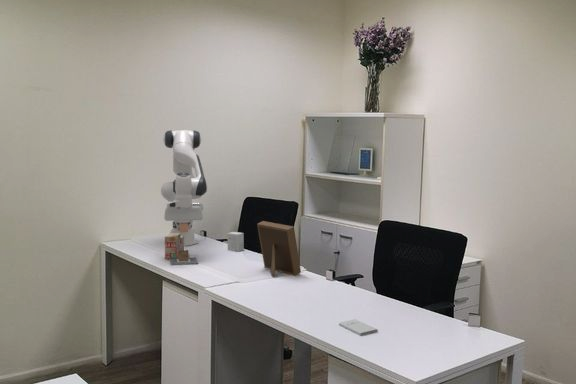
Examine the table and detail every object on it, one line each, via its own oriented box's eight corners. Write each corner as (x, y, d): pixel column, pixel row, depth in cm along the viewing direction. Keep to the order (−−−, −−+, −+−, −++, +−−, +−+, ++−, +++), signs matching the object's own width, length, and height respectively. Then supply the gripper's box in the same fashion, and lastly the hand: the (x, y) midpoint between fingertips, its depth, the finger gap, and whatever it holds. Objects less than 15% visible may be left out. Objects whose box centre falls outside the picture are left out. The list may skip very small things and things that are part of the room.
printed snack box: (173, 251, 326) (173, 230, 325) (184, 251, 326) (184, 230, 325) (164, 258, 305) (164, 236, 304) (176, 258, 304) (176, 236, 303)
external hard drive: (360, 337, 197) (338, 326, 207) (377, 333, 201) (355, 322, 212) (360, 333, 197) (338, 322, 207) (377, 328, 201) (355, 318, 211)
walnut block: (178, 259, 302) (178, 250, 302) (188, 259, 304) (188, 250, 303) (179, 261, 298) (179, 252, 297) (188, 261, 299) (188, 252, 298)
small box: (243, 250, 332) (244, 233, 331) (238, 252, 327) (238, 234, 326) (233, 248, 336) (233, 231, 335) (227, 250, 331) (227, 232, 330)
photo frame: (270, 266, 294) (270, 219, 291) (300, 274, 279) (301, 225, 276) (249, 271, 283) (249, 223, 280) (280, 279, 269) (281, 229, 266)
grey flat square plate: (169, 259, 306) (169, 257, 306) (195, 258, 309) (195, 256, 309) (170, 265, 292) (170, 263, 292) (197, 264, 296) (197, 262, 296)
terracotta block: (179, 230, 300) (179, 222, 300) (187, 230, 302) (187, 222, 301) (179, 232, 296) (179, 224, 296) (188, 232, 297) (188, 223, 297)
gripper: (202, 202, 303) (202, 227, 304) (164, 202, 298) (164, 228, 299) (203, 203, 297) (203, 229, 298) (164, 204, 292) (164, 230, 293)
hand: (183, 228), depth 299 cm, fingers closed on terracotta block, 4 cm apart
